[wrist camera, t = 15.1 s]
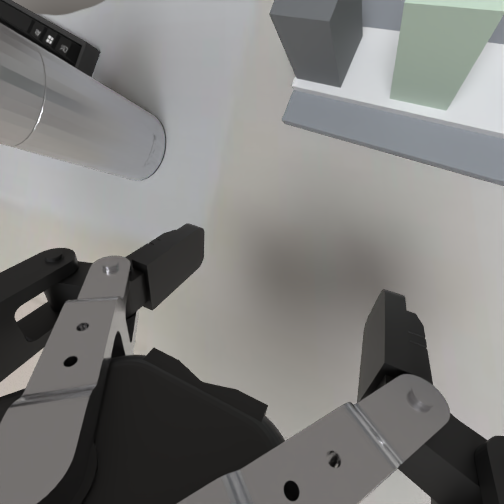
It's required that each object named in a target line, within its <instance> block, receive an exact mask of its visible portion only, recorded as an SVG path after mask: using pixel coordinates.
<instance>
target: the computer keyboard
mask: <svg viewBox="0 0 504 504" xmlns="http://www.w3.org/2000/svg"><path fill="white" fill-rule="evenodd" d="M0 23H2V24H3V25H5V26H6V27H8V28H10V29H11V30H13V31H15V32H16V33H18V34H20V35H21V36H23V37H25V38H26V39H28V40H30V41H32V42H33V43H35V44H37V45H38V46H40V47H42V48H43V49H45V50H47V51H48V52H50V53H52V54H53V55H55V56H57V57H58V58H60V59H62V60H63V61H65V62H67V63H68V64H70V65H72V66H73V67H75V68H77V69H78V70H80V71H81V72H83V73H85V74H86V75H88V76H90V77H91V76H92V73H93V71H94V68H95V65H96V63H97V60H98V57H99V54H100V51H98V50H97V49H95V48H94V47H93V46H91V45H90V44H88V43H87V42H85V41H84V40H82V39H80V38H78V37H76V36H75V35H73V34H71V33H69V32H67V31H66V30H64V29H62V28H60V27H58V26H57V25H55V24H53V23H51V22H49V21H48V20H46V19H44V18H42V17H40V16H39V15H37V14H35V13H33V12H31V11H29V10H28V9H26V8H24V7H22V6H20V5H19V4H17V3H15V2H13V1H12V0H0Z"/></svg>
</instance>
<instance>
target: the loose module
mask: <svg viewBox="0 0 504 504" xmlns="http://www.w3.org/2000/svg"><path fill="white" fill-rule="evenodd" d="M503 15H504V0H405V2H404V8H403V15H402V21H401V28H400V34H399V41H398V47H397V54H396V60H395V66H394V73H393V79H392V86H391V92H390V99H394V100H398V101H403V102H408V103H412V104H417V105H422V106H427V107H431V108H436V109H441V110H446V111H447V109H448V107H449V106H450V104H451V102H452V101H453V99H454V97H455V96H456V94H457V92H458V91H459V89H460V87H461V86H462V84H463V82H464V81H465V79H466V77H467V76H468V74H469V72H470V70H471V69H472V67H473V65H474V64H475V62H476V60H477V59H478V57H479V55H480V54H481V52H482V50H483V49H484V47H485V45H486V44H487V42H488V40H489V39H490V37H491V35H492V34H493V32H494V30H495V29H496V27H497V25H498V24H499V22H500V20H501V19H502V17H503Z"/></svg>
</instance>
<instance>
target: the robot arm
mask: <svg viewBox="0 0 504 504" xmlns="http://www.w3.org/2000/svg"><path fill="white" fill-rule="evenodd" d="M0 144H3V145H6V146H11V147H14V148H18V149H21V150H25V151H29V152H32V153H36V154H40V155H43V156H47V157H51V158H54V159H58V160H62V161H65V162H69V163H73V164H76V165H80V166H84V167H87V168H91V169H94V170H98V171H102V172H105V173H109V174H112V175H116V176H120V177H123V178H127V179H131V180H136V181H137V180H143V179H145V178H147V177H149V176H150V175H152V174H153V173H154V171H155V170H156V169H157V168H158V166H159V164H160V163H161V160H162V158H163V154H164V150H165V134H164V130H163V127H162V125H161V123H160V121H159V120H158V119H157V118H156V117H155V116H154V115H152V114H151V113H149V112H147V111H146V110H144V109H143V108H141V107H139V106H138V105H136V104H134V103H133V102H131V101H130V100H128V99H126V98H125V97H123V96H121V95H120V94H118V93H116V92H115V91H113V90H111V89H110V88H108V87H106V86H105V85H103V84H101V83H100V82H98V81H96V80H95V79H93V78H91V77H90V76H88V75H86V74H85V73H83V72H81V71H80V70H78V69H77V68H75V67H73V66H72V65H70V64H68V63H67V62H65V61H63V60H62V59H60V58H58V57H57V56H55V55H53V54H52V53H50V52H48V51H47V50H45V49H43V48H42V47H40V46H38V45H37V44H35V43H33V42H32V41H30V40H28V39H26V38H25V37H23V36H21V35H20V34H18V33H16V32H15V31H13V30H11V29H10V28H8V27H6V26H5V25H3V24H2V23H0ZM203 258H204V230H203V228H201V227H198V226H195V225H192V224H185V225H184V226H182V227H181V228H179V229H177V230H173V231H170V232H166V233H164V234H162V235H160V236H159V237H157V238H156V239H154V240H152V241H151V242H150V243H149V244H146V245H144V246H143V247H141V248H140V249H138V250H136V251H135V252H133V253H132V254H130V255H128V256H127V257H122V256H108V257H104V258H101V259H99V260H97V261H95V262H94V263H87V262H79V261H77V258H76V255H75V252H74V251H73V250H71V249H67V248H55V249H50V250H46V251H43V252H41V253H39V254H37V255H35V256H33V257H31V258H29V259H27V260H25V261H23V262H21V263H19V264H17V265H15V266H13V267H11V268H9V269H7V270H5V271H3V272H1V273H0V382H1V381H2V380H3V379H5V378H6V377H7V376H8V375H10V374H11V373H12V372H14V371H15V370H16V369H17V368H19V367H20V366H21V365H22V364H24V363H25V362H26V361H27V360H29V359H30V358H31V357H32V356H34V355H35V354H36V353H37V352H39V351H40V350H41V349H42V348H44V349H43V352H42V354H41V356H40V358H39V360H38V363H37V365H36V367H35V369H34V371H33V374H32V376H31V378H30V380H29V382H28V384H27V387H26V388H25V389H22V390H20V391H17V392H14V393H11V394H8V395H5V396H2V397H0V504H359V503H360V502H361V501H362V500H363V499H365V498H366V497H367V496H368V495H369V494H370V493H371V492H372V491H373V490H374V489H376V488H377V487H378V486H379V485H380V484H381V483H382V482H383V481H384V480H386V479H387V478H388V477H389V476H390V475H391V474H392V473H393V472H394V471H395V470H397V469H399V470H400V471H401V472H403V473H404V474H405V475H406V476H407V477H408V478H409V479H411V480H412V481H413V482H414V483H415V484H416V485H417V486H419V487H420V488H421V489H422V490H423V491H424V492H425V493H427V494H428V495H429V496H430V497H431V504H504V436H494V437H492V438H490V439H489V440H486V439H485V438H483V437H482V436H480V435H479V434H478V433H476V432H475V431H473V430H472V429H470V428H469V427H467V426H466V425H465V424H463V423H462V422H460V421H459V420H458V419H456V418H455V417H454V416H453V415H452V414H451V413H450V410H449V406H448V404H447V402H446V400H445V398H444V397H443V395H442V394H441V393H440V392H439V391H438V390H437V389H436V388H435V387H434V386H433V382H432V376H431V370H430V364H429V358H428V351H427V349H426V347H427V345H426V339H425V333H424V326H423V324H422V323H421V321H420V320H419V318H418V317H417V315H416V314H415V313H412V312H409V311H406V302H405V296H403V295H400V294H397V293H394V292H391V291H388V290H385V289H383V290H382V291H381V293H380V295H379V297H378V299H377V301H376V303H375V305H374V307H373V309H372V311H371V312H370V314H369V316H368V319H367V321H366V324H365V328H364V335H363V345H362V356H361V366H360V377H359V387H358V398H357V403H356V404H354V405H353V404H352V403H351V402H348V403H346V404H344V405H342V406H340V407H339V408H337V409H335V410H334V411H332V412H331V413H329V414H327V415H326V416H324V417H323V418H321V419H320V420H318V421H316V422H315V423H313V424H312V425H310V426H308V427H307V428H305V429H304V430H302V431H300V432H299V433H297V434H296V435H294V436H293V437H291V438H289V439H288V440H286V441H285V440H284V438H283V436H282V435H281V433H280V432H279V430H278V429H277V428H276V427H275V425H274V424H273V423H272V422H271V421H270V420H269V419H268V418H267V417H266V416H265V413H266V410H267V407H268V405H266V404H264V403H262V402H260V401H258V400H256V399H254V398H252V397H250V396H248V395H246V394H244V393H242V392H241V391H239V390H236V389H231V388H227V387H222V386H218V385H213V384H208V383H204V382H202V381H200V380H199V379H198V378H197V377H196V376H195V375H194V374H193V373H192V372H191V371H190V370H189V369H188V368H187V367H185V366H184V365H183V364H182V363H181V362H180V361H179V360H177V359H175V358H173V357H171V356H169V355H167V354H165V353H163V352H161V351H159V350H157V349H156V348H153V349H152V350H151V351H150V352H149V353H148V354H147V356H145V355H134V345H135V337H136V330H137V323H138V316H139V312H138V309H140V308H141V307H142V306H144V307H146V308H148V309H150V310H154V309H155V308H156V307H157V306H158V305H159V304H160V303H161V302H162V301H163V300H164V299H165V298H167V297H168V296H169V295H170V294H171V293H172V292H173V291H174V290H175V289H176V288H177V287H178V286H180V285H181V284H182V283H183V282H184V281H185V280H186V279H187V278H188V277H189V276H190V275H191V274H193V273H194V272H195V271H196V270H197V269H198V268H199V267H200V265H201V264H202V261H203ZM42 292H44V293H45V295H46V298H47V300H48V302H47V303H45V304H44V305H42V306H41V307H39V308H38V309H36V310H35V311H33V312H31V313H30V314H28V315H27V316H25V317H24V318H22V319H21V320H19V321H18V322H16V320H15V318H14V316H15V312H16V310H17V309H18V308H19V307H20V306H21V305H23V304H24V303H26V302H27V301H29V300H31V299H32V298H34V297H36V296H37V295H39V294H40V293H42Z"/></svg>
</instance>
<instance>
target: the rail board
mask: <svg viewBox="0 0 504 504" xmlns="http://www.w3.org/2000/svg"><path fill="white" fill-rule="evenodd" d="M404 2H405V0H274V3H273V5H272V8H271V11H270V17H271V19H272V21H273V24H274V26H275V28H276V31H277V33H278V35H279V38H280V40H281V42H282V45H283V47H284V49H285V52H286V54H287V57H288V59H289V61H290V64H291V66H292V68H293V71H294V73H295V75H296V76H295V78H294V81H293V83H292V88H293V93H292V95H291V98H290V100H289V103H288V105H287V108H286V110H285V113H284V116H283V118H282V121H283V122H284V123H285V124H288V125H291V126H295V127H298V128H302V129H305V130H309V131H312V132H316V133H319V134H323V135H326V136H330V137H333V138H337V139H340V140H344V141H347V142H351V143H354V144H358V145H362V146H365V147H369V148H372V149H376V150H379V151H383V152H386V153H390V154H393V155H397V156H400V157H404V158H407V159H411V160H414V161H418V162H421V163H425V164H428V165H432V166H435V167H439V168H442V169H446V170H449V171H453V172H456V173H460V174H463V175H467V176H470V177H474V178H478V179H481V180H485V181H488V182H492V183H495V184H499V185H502V186H504V15H503V17H502V19H501V20H500V22H499V24H498V25H497V27H496V29H495V30H494V32H493V34H492V35H491V37H490V39H489V40H488V42H487V44H486V45H485V47H484V49H483V50H482V52H481V54H480V55H479V57H478V59H477V60H476V62H475V64H474V65H473V67H472V69H471V70H470V72H469V74H468V76H467V77H466V79H465V81H464V82H463V84H462V86H461V87H460V89H459V91H458V92H457V94H456V96H455V97H454V99H453V101H452V102H451V104H450V106H449V107H448V109H447V111H446V110H441V109H436V108H431V107H427V106H422V105H417V104H412V103H408V102H403V101H398V100H394V99H390V92H391V86H392V79H393V73H394V66H395V60H396V54H397V47H398V41H399V34H400V28H401V21H402V15H403V8H404Z"/></svg>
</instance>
